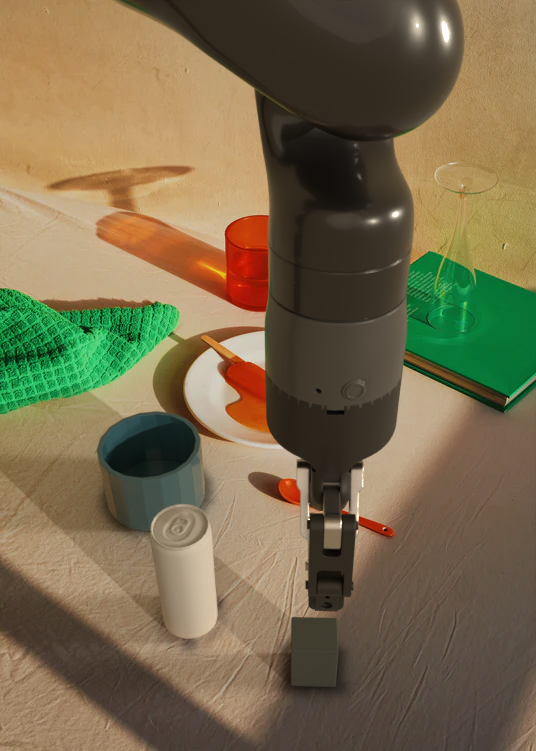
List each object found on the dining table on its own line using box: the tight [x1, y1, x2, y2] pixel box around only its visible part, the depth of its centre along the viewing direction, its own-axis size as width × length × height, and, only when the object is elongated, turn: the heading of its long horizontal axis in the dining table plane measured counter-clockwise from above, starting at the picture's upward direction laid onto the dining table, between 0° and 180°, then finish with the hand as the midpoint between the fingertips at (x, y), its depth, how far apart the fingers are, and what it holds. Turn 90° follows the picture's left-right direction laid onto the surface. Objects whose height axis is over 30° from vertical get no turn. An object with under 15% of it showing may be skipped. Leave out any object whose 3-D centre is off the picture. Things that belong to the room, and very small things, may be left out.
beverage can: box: [149, 504, 219, 640], centre depth 61 cm, size 5×5×12 cm
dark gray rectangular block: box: [290, 616, 339, 688], centre depth 59 cm, size 3×4×5 cm
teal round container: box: [96, 410, 206, 532], centre depth 74 cm, size 10×10×7 cm
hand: (324, 552), depth 50 cm, fingers open, 8 cm apart
